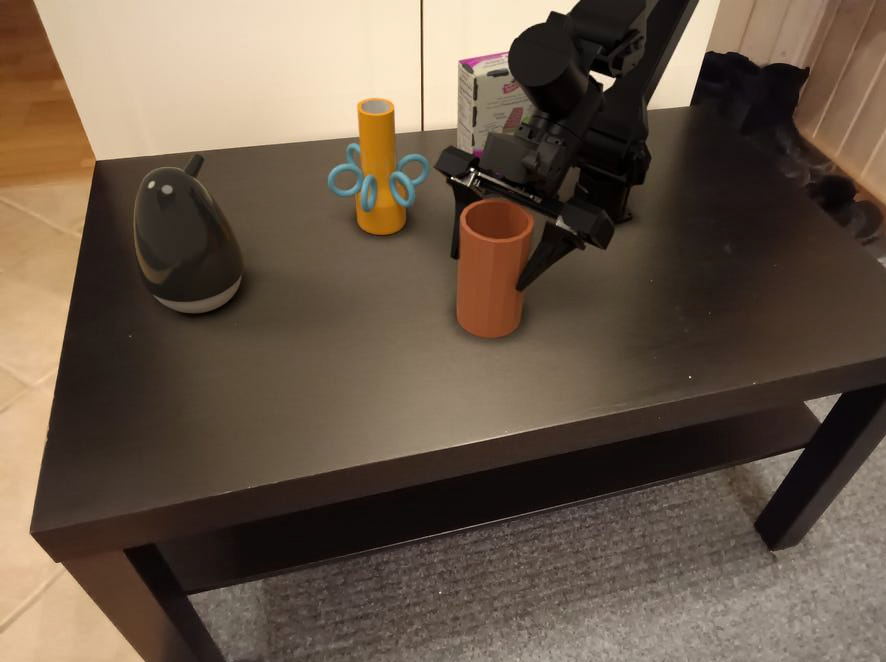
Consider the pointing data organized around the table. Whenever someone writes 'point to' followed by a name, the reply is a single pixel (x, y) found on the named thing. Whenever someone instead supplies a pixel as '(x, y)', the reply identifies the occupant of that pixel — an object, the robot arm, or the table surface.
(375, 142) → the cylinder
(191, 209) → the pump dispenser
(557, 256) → the robot arm
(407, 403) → the table surface
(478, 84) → the candy bar box
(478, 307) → the pot
